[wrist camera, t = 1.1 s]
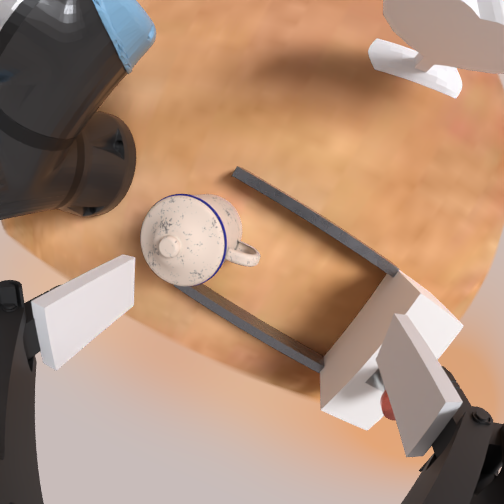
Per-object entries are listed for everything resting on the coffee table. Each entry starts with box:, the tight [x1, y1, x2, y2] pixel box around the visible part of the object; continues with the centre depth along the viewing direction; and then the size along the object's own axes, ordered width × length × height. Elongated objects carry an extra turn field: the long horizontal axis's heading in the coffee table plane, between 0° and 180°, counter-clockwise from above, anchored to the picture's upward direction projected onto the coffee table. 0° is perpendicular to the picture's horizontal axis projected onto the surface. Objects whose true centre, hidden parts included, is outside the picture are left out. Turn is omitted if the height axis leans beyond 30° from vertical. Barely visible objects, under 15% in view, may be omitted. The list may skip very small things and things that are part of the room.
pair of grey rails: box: [174, 166, 399, 373], centre depth 35 cm, size 22×16×2 cm
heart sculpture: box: [368, 0, 504, 98], centre depth 18 cm, size 16×5×18 cm, turn 79°
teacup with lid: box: [140, 194, 260, 286], centre depth 31 cm, size 12×9×12 cm
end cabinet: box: [320, 270, 464, 430], centre depth 30 cm, size 7×16×10 cm, turn 150°
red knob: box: [378, 368, 396, 420], centre depth 24 cm, size 4×4×7 cm
